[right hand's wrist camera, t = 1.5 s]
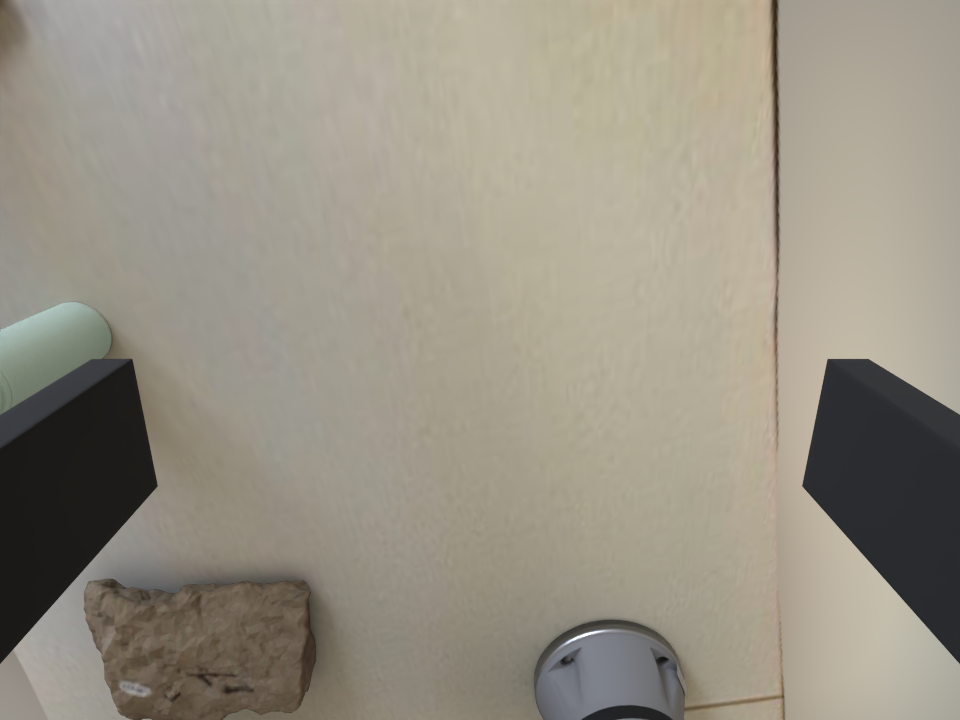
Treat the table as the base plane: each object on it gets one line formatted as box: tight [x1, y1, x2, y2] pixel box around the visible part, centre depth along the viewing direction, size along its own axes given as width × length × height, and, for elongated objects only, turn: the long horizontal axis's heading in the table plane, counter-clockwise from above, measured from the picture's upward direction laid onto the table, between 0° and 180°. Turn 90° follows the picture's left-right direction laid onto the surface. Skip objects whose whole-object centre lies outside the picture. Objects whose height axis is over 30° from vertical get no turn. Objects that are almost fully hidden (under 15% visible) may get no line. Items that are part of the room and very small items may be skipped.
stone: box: [84, 579, 316, 720], centre depth 63 cm, size 21×15×6 cm
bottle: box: [0, 302, 112, 415], centre depth 46 cm, size 6×6×17 cm
